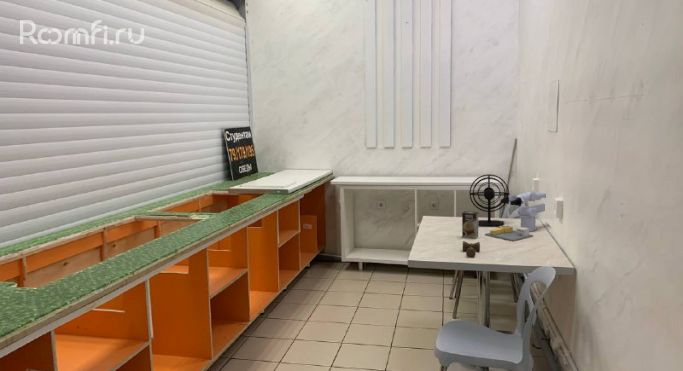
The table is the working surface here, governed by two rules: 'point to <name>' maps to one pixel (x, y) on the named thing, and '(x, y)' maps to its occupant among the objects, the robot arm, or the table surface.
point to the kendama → (471, 248)
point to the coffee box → (470, 224)
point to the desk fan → (489, 200)
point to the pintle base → (512, 234)
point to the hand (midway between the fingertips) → (505, 202)
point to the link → (501, 230)
